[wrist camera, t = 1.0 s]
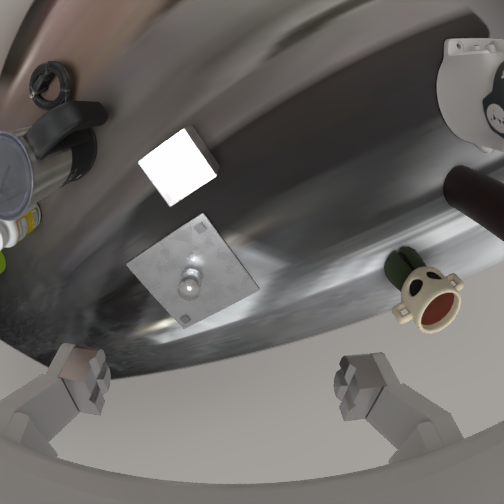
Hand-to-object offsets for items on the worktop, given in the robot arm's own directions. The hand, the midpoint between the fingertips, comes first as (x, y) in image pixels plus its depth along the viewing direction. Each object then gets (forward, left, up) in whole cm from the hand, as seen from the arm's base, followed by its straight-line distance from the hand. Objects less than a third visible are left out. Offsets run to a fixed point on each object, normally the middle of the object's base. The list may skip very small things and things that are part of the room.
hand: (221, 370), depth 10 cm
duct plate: (+13, +10, -31) cm, 35 cm away
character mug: (-14, +25, -31) cm, 43 cm away
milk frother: (+15, -19, -32) cm, 40 cm away
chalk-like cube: (+4, -4, -31) cm, 32 cm away
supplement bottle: (+29, -13, -31) cm, 45 cm away
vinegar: (-29, +19, -31) cm, 46 cm away
